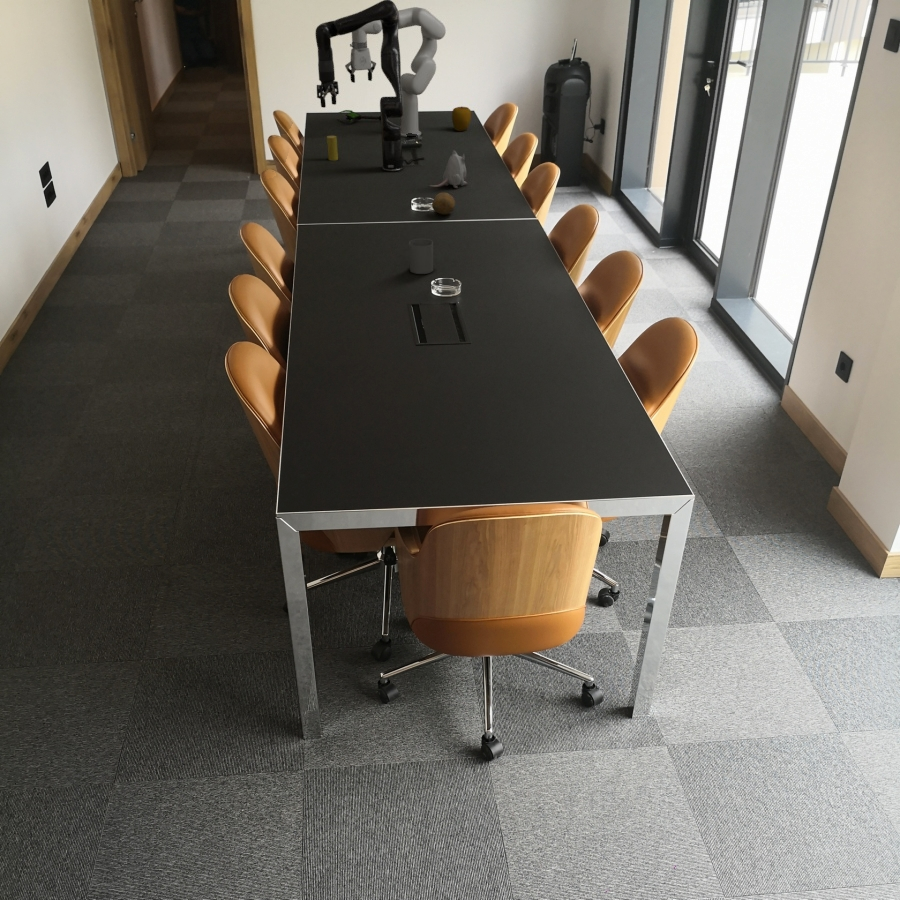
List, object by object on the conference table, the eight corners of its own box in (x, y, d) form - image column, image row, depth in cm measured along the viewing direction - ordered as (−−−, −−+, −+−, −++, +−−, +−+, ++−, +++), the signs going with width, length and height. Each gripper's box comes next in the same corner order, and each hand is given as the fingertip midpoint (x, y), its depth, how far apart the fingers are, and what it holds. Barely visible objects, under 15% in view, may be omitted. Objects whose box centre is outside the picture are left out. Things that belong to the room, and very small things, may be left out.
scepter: (388, 107, 510) (337, 105, 507) (388, 120, 503) (336, 118, 500) (388, 116, 515) (337, 114, 512) (388, 129, 507) (337, 127, 505)
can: (339, 158, 439) (337, 135, 433) (336, 160, 435) (335, 138, 429) (330, 158, 439) (328, 135, 434) (327, 160, 435) (325, 137, 430)
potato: (453, 208, 369) (453, 189, 365) (456, 218, 357) (456, 199, 353) (431, 208, 368) (430, 189, 364) (432, 218, 356) (432, 199, 352)
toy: (472, 184, 399) (472, 151, 391) (436, 195, 384) (436, 161, 376) (457, 180, 404) (458, 147, 396) (422, 191, 389) (421, 157, 381)
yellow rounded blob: (471, 132, 486) (471, 108, 479) (451, 132, 486) (451, 108, 479) (470, 128, 495) (471, 104, 488) (452, 128, 495) (452, 104, 488)
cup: (409, 265, 311) (408, 238, 306) (432, 265, 312) (431, 238, 307) (410, 274, 304) (409, 246, 299) (433, 273, 305) (433, 246, 299)
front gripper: (329, 67, 421) (331, 102, 430) (310, 71, 411) (313, 107, 419) (341, 68, 418) (343, 104, 427) (323, 72, 408) (326, 109, 416)
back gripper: (347, 47, 437) (349, 84, 447) (378, 45, 445) (379, 81, 454) (341, 45, 443) (343, 81, 452) (371, 43, 450) (373, 78, 459)
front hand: (328, 105), depth 423 cm, fingers open, 8 cm apart
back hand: (361, 81), depth 453 cm, fingers open, 9 cm apart
